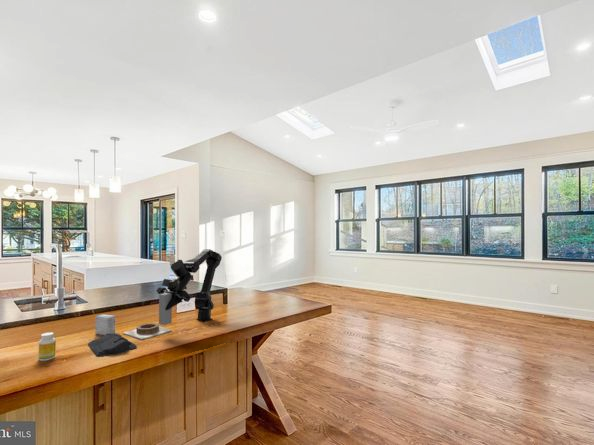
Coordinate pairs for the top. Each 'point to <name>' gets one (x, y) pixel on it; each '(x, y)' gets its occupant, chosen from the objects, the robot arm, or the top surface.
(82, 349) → the top surface
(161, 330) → the ring holder
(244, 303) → the top surface
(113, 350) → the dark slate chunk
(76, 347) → the top surface
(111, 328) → the medicine box
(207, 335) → the top surface
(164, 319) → the tall square grey column
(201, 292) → the robot arm
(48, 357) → the supplement bottle
